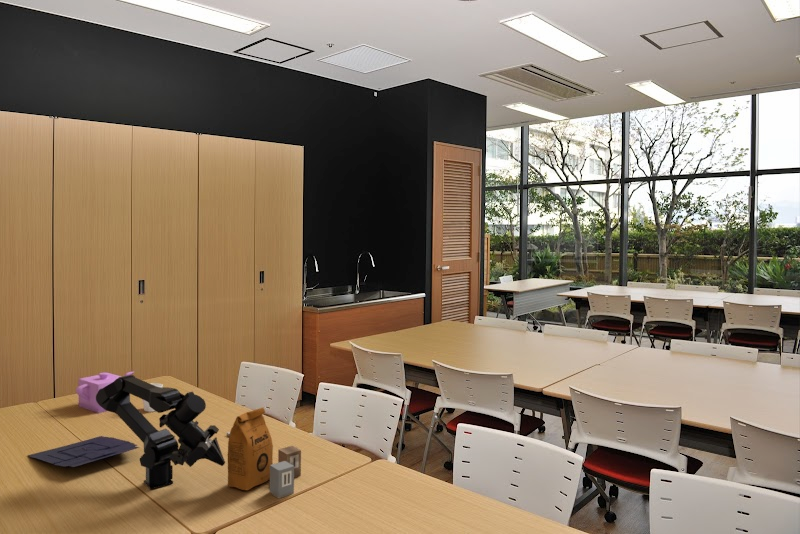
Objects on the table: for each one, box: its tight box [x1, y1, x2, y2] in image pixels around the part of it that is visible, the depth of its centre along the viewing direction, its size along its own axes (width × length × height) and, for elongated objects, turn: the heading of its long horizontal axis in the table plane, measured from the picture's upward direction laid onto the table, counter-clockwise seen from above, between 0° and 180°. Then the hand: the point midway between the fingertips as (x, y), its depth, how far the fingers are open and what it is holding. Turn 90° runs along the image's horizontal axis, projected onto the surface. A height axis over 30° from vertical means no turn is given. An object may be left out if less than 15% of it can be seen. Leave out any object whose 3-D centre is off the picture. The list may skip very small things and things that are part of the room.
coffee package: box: [227, 407, 274, 491], centre depth 173 cm, size 10×12×22 cm
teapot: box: [75, 371, 135, 414], centre depth 245 cm, size 15×25×14 cm, turn 146°
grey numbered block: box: [269, 461, 295, 499], centre depth 168 cm, size 5×5×8 cm
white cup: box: [142, 382, 164, 413], centre depth 241 cm, size 8×8×10 cm
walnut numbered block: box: [277, 445, 302, 479], centre depth 180 cm, size 5×5×8 cm
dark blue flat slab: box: [27, 435, 140, 468], centre depth 191 cm, size 24×30×4 cm
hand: (223, 464), depth 170 cm, fingers closed
